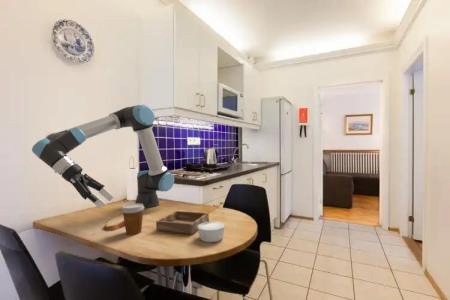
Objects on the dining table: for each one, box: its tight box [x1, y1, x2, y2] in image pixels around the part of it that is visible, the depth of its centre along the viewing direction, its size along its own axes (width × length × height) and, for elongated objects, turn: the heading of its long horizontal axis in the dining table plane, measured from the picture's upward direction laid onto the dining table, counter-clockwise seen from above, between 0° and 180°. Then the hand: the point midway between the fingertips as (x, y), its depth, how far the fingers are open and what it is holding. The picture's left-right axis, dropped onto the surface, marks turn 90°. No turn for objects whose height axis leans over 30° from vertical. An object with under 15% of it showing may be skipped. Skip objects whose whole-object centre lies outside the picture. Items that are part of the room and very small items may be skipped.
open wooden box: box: [155, 210, 210, 236], centre depth 114 cm, size 18×18×4 cm
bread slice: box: [103, 214, 125, 232], centre depth 121 cm, size 18×18×4 cm
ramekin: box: [197, 221, 226, 243], centre depth 98 cm, size 11×11×5 cm
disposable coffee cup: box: [121, 203, 145, 236], centre depth 107 cm, size 10×10×12 cm
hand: (107, 202), depth 105 cm, fingers open, 13 cm apart
